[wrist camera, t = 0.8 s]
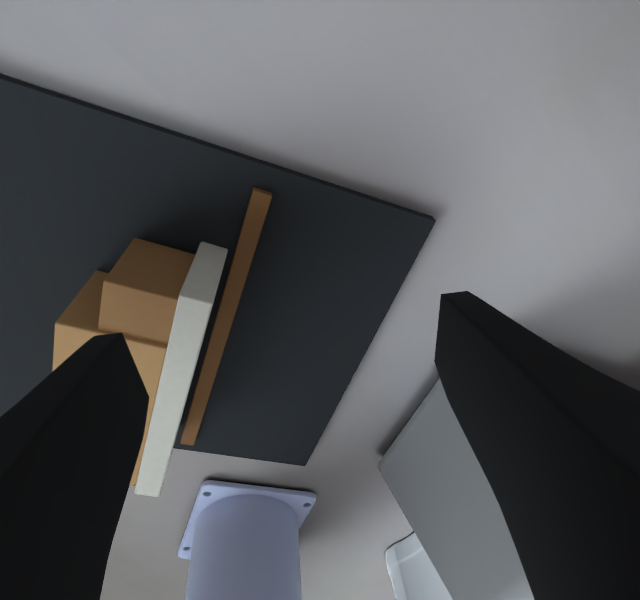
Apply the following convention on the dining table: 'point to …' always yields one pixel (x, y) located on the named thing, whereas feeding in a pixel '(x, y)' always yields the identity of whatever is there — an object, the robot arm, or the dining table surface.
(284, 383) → the shoe mat
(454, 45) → the dining table surface
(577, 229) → the dining table surface
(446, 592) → the jar
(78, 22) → the dining table surface
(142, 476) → the cardboard stepped box
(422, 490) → the tank
